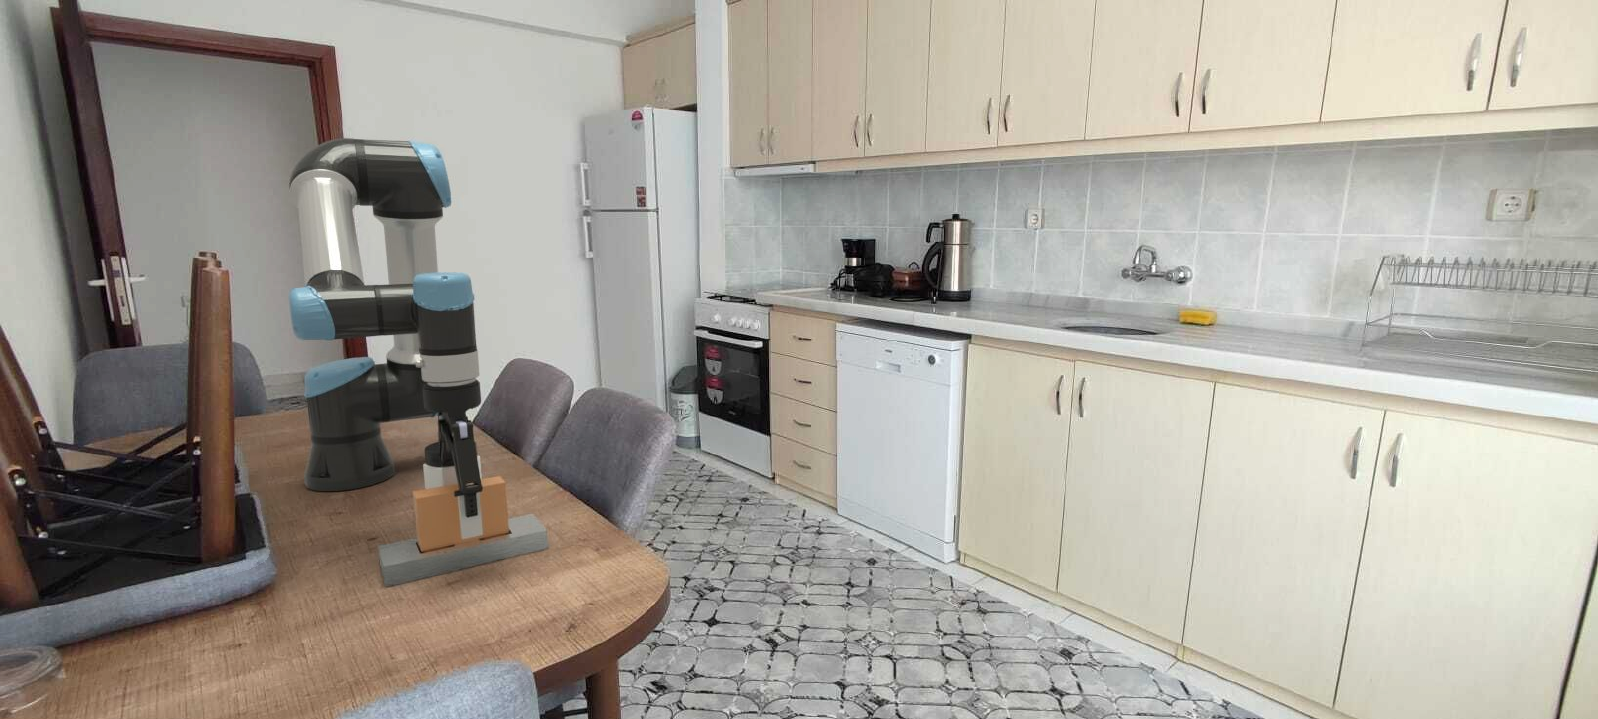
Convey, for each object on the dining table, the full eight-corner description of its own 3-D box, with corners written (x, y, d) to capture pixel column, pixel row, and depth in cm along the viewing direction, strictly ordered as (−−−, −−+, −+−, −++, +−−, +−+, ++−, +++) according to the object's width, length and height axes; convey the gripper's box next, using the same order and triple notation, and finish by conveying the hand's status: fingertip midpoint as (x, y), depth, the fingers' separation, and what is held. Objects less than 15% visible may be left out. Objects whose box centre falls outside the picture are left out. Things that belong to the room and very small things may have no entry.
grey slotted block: (380, 565, 107) (377, 546, 107) (534, 530, 120) (533, 513, 119) (385, 587, 101) (383, 566, 100) (548, 548, 113) (546, 530, 113)
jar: (431, 525, 122) (424, 455, 120) (424, 509, 129) (418, 443, 126) (488, 513, 127) (483, 447, 125) (479, 499, 133) (474, 435, 131)
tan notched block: (419, 562, 108) (412, 491, 106) (504, 542, 115) (499, 475, 113) (423, 571, 106) (416, 498, 104) (510, 551, 112) (505, 482, 110)
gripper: (410, 369, 114) (423, 500, 117) (436, 401, 93) (450, 557, 97) (462, 364, 118) (473, 490, 121) (498, 393, 97) (509, 543, 101)
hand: (463, 520), depth 109 cm, fingers open, 13 cm apart
